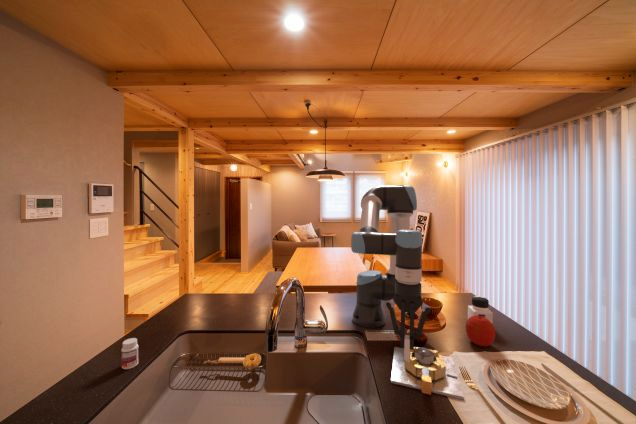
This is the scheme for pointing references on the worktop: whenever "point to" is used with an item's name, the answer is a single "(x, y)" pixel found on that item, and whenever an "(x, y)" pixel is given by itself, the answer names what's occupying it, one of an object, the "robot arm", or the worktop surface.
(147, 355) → the worktop surface
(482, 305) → the container
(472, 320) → the apple
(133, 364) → the pill bottle
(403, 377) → the flange plate
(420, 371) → the yellow piece
